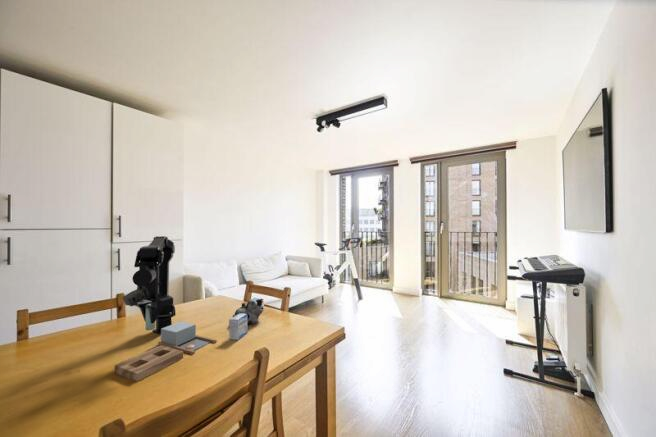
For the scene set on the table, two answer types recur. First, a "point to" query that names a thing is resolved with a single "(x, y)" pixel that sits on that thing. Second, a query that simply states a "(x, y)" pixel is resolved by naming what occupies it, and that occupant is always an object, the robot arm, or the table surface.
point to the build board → (148, 362)
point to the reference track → (191, 344)
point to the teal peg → (148, 323)
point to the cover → (178, 333)
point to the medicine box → (238, 326)
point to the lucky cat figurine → (251, 310)
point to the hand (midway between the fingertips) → (149, 322)
